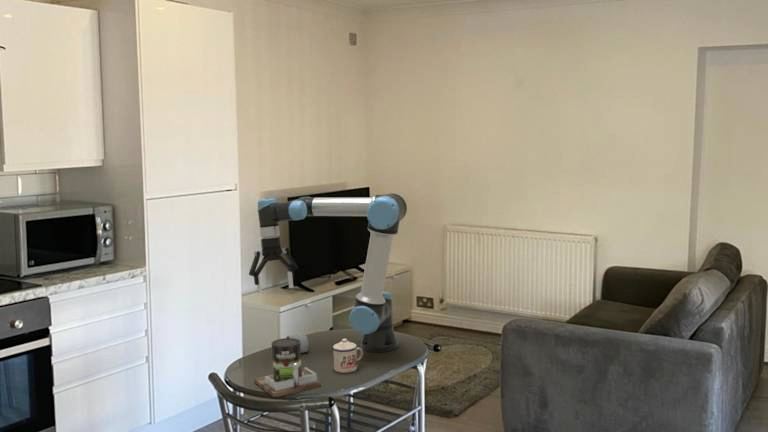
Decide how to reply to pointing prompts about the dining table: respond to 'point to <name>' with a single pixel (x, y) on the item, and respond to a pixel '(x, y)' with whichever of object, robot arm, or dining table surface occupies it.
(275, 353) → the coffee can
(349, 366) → the teacup with lid
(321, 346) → the dining table surface
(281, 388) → the keeper cradle
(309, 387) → the board
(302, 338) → the ceramic mug
